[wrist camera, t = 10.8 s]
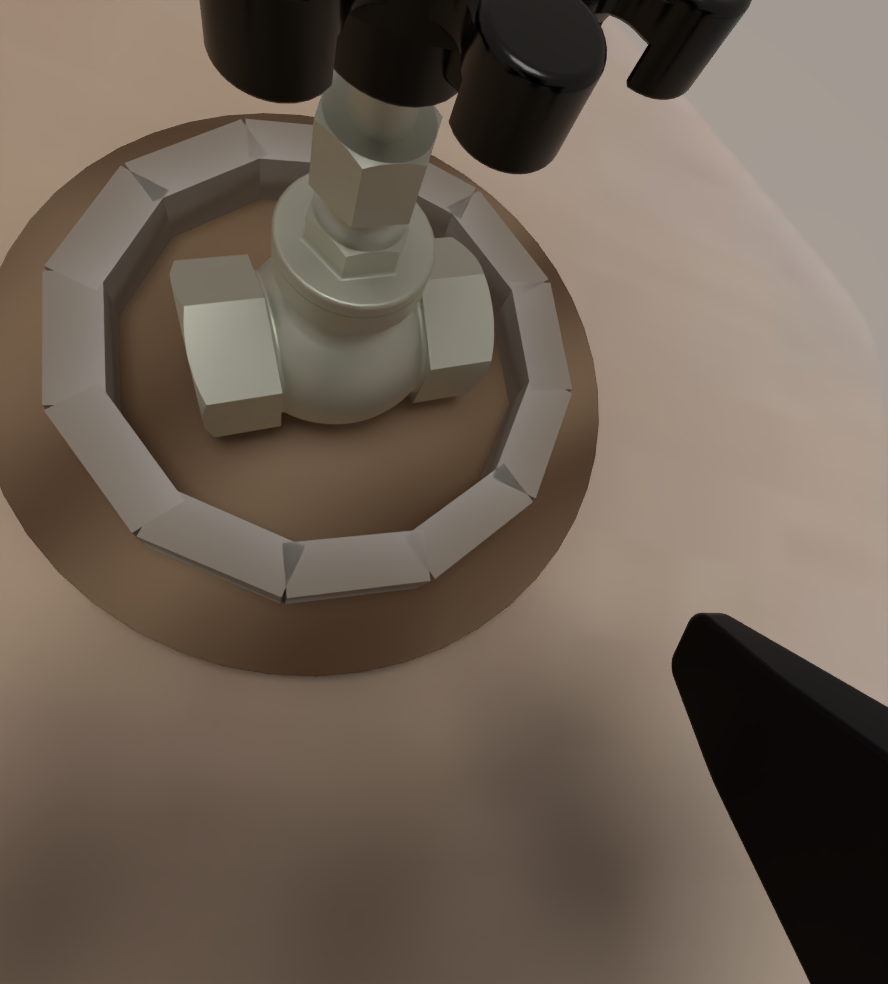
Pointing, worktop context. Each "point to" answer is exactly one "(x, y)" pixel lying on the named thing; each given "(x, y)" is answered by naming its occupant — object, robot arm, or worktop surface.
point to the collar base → (279, 450)
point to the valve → (394, 187)
